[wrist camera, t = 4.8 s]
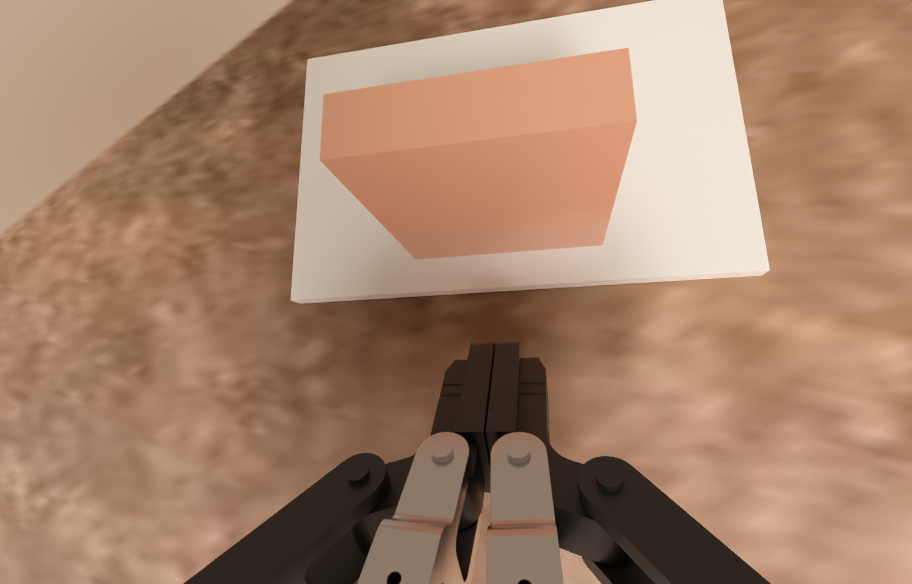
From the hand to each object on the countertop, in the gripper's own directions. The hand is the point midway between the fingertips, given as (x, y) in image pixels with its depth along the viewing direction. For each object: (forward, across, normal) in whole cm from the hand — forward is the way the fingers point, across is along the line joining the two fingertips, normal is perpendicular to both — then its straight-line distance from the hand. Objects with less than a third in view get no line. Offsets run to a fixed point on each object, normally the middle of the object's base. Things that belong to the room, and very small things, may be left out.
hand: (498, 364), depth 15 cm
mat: (+11, 0, -3) cm, 12 cm away
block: (+8, 0, -1) cm, 8 cm away
